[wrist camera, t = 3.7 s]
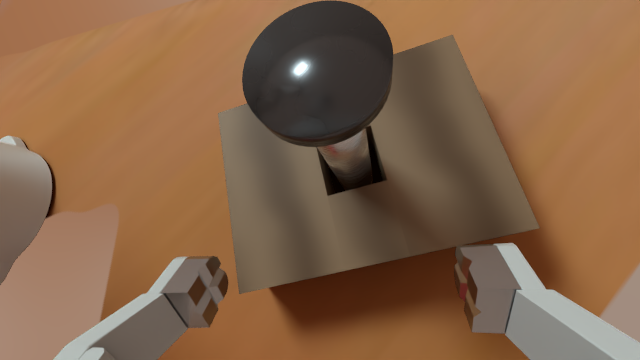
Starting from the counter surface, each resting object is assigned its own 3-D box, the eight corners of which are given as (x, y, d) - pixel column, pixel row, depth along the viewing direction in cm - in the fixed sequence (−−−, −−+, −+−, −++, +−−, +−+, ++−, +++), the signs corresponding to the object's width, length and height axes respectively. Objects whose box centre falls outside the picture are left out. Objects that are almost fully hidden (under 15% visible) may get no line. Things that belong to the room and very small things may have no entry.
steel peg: (333, 214, 25) (253, 155, 10) (320, 157, 26) (234, 31, 11) (395, 199, 24) (415, 107, 9) (377, 141, 25) (368, -21, 10)
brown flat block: (267, 285, 24) (239, 293, 20) (245, 136, 29) (218, 113, 24) (505, 233, 21) (540, 228, 17) (440, 74, 26) (452, 34, 21)
